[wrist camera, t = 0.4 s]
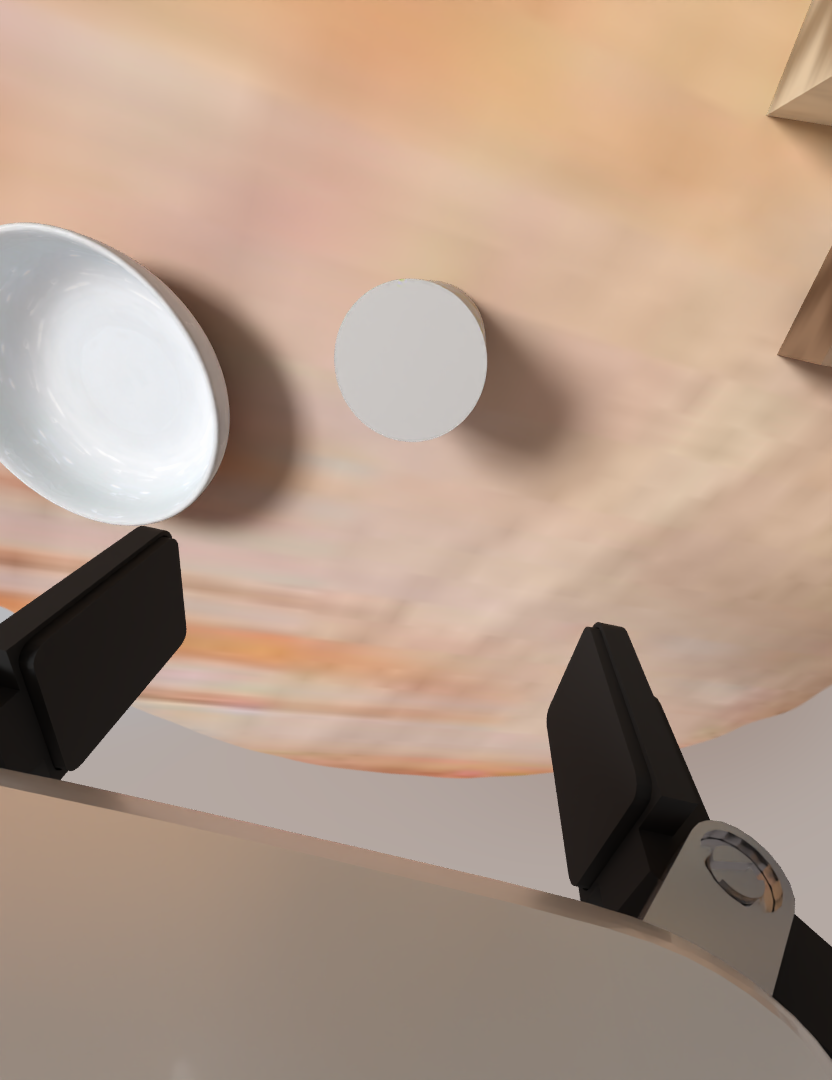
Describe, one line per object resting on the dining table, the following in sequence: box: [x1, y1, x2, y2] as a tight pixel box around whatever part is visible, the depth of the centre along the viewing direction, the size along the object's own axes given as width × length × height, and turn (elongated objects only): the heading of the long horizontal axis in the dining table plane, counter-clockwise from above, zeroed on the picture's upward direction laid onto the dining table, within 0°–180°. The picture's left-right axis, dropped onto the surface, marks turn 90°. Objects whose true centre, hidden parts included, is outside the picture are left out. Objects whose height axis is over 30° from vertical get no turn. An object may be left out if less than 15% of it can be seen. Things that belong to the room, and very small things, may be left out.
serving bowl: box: [0, 223, 230, 526], centre depth 37 cm, size 21×21×7 cm
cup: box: [334, 279, 487, 442], centre depth 30 cm, size 8×8×12 cm
